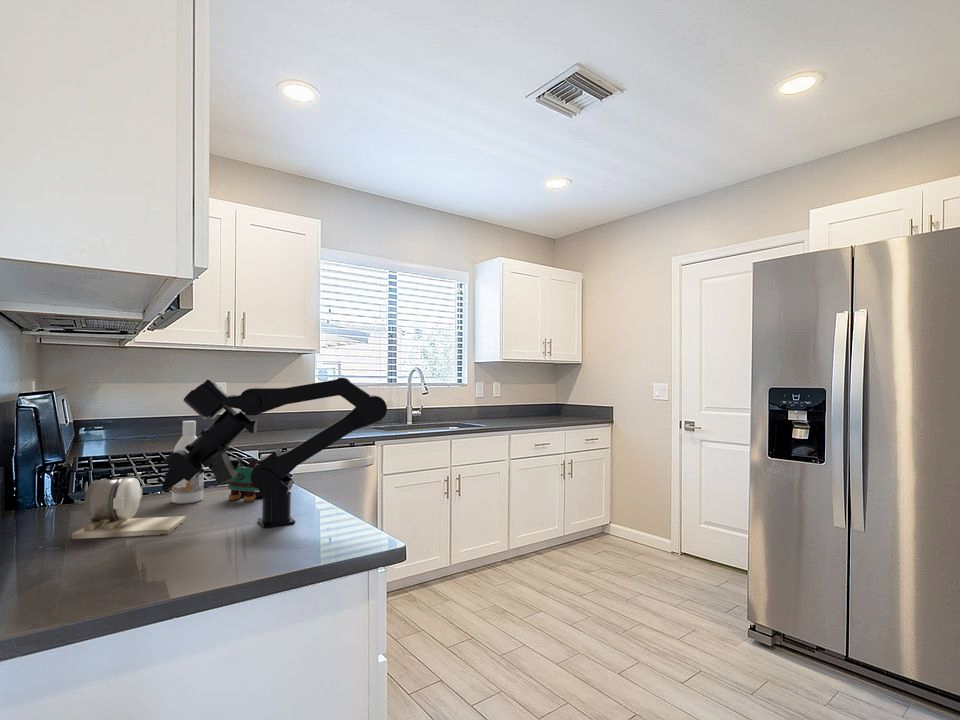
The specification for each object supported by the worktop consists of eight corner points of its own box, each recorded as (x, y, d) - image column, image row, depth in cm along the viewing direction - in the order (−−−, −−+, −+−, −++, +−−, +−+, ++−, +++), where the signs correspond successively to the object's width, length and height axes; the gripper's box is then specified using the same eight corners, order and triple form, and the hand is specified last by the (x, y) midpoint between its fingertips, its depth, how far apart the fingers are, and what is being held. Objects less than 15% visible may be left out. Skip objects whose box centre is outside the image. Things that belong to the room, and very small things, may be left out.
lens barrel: (130, 514, 113) (131, 474, 113) (111, 525, 105) (112, 482, 105) (103, 515, 112) (104, 475, 112) (82, 527, 104) (84, 483, 104)
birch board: (185, 520, 116) (185, 510, 116) (168, 534, 106) (168, 523, 106) (97, 524, 112) (97, 514, 112) (71, 539, 102) (71, 527, 102)
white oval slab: (141, 511, 114) (142, 474, 114) (121, 524, 104) (122, 483, 105) (133, 511, 114) (134, 474, 114) (112, 524, 104) (113, 483, 104)
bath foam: (164, 503, 131) (166, 422, 131) (184, 497, 138) (186, 419, 138) (190, 504, 130) (192, 422, 130) (209, 498, 137) (210, 420, 137)
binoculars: (279, 457, 142) (253, 459, 133) (275, 498, 141) (249, 502, 132) (251, 455, 145) (224, 457, 136) (248, 495, 144) (220, 499, 134)
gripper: (239, 467, 105) (178, 527, 102) (258, 453, 123) (206, 504, 121) (195, 428, 104) (132, 489, 101) (221, 420, 122) (168, 471, 119)
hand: (163, 489), depth 111 cm, fingers closed
